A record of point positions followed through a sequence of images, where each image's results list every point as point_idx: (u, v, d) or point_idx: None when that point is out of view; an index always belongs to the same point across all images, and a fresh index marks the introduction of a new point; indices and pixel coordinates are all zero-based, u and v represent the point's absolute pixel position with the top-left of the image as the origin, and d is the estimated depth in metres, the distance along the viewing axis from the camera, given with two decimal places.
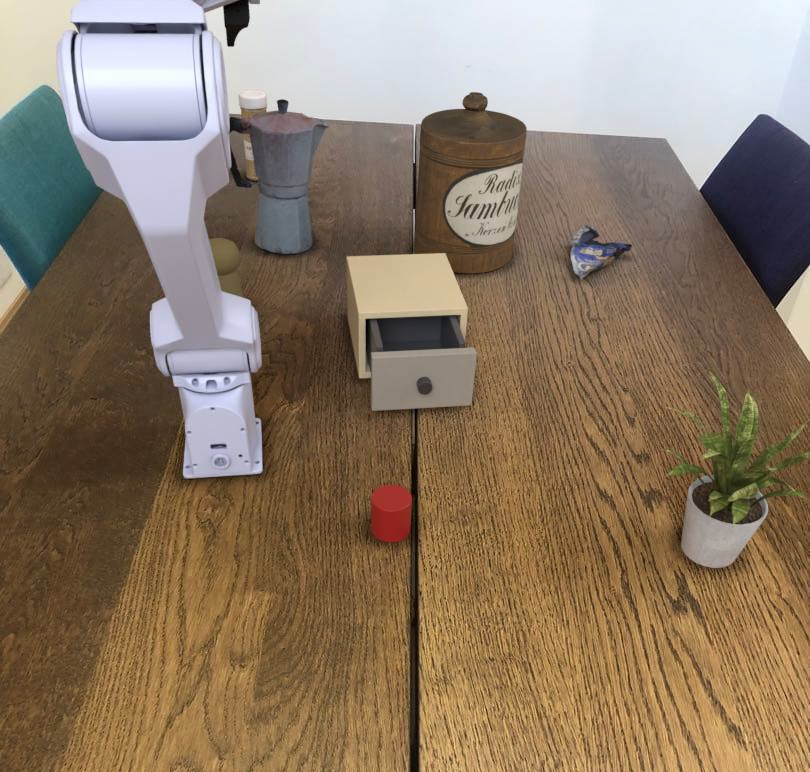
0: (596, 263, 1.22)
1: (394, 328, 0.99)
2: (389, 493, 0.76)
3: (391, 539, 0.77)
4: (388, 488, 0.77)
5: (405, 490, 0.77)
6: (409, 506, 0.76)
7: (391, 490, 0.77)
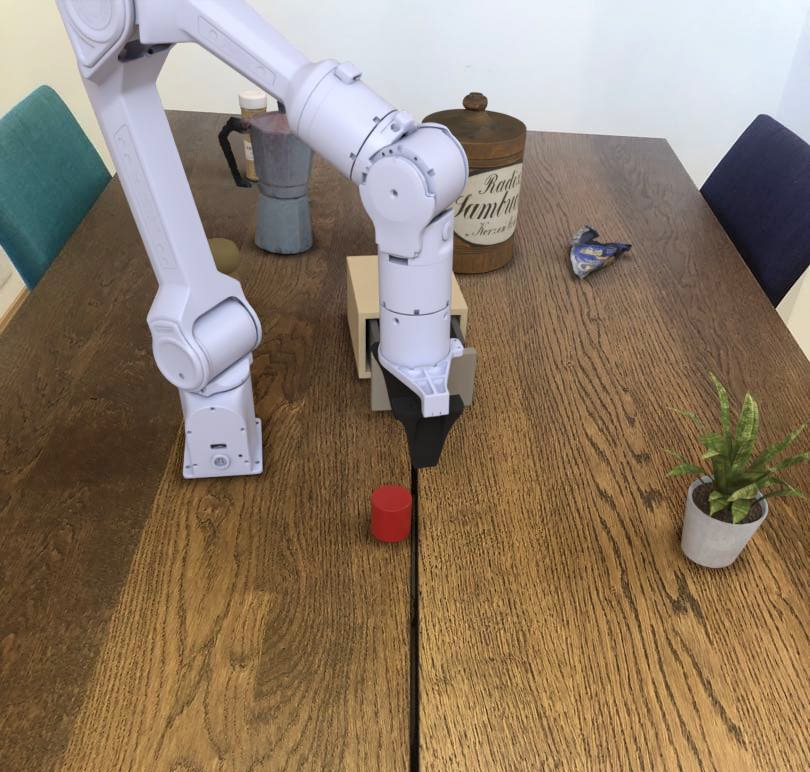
0: (596, 263, 1.22)
1: None
2: (389, 493, 0.76)
3: (391, 539, 0.77)
4: (388, 488, 0.77)
5: (405, 490, 0.77)
6: (409, 506, 0.76)
7: (391, 490, 0.77)
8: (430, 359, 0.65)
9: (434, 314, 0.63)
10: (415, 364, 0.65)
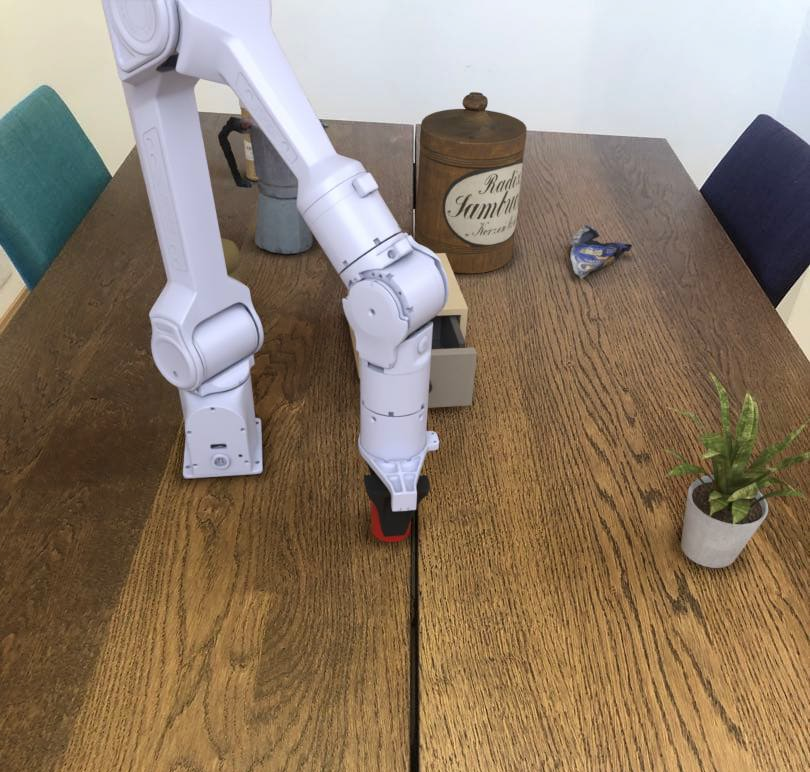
0: (596, 263, 1.22)
1: None
2: None
3: (391, 539, 0.77)
4: None
5: None
6: None
7: None
8: (404, 454, 0.69)
9: (409, 416, 0.67)
10: (390, 458, 0.69)
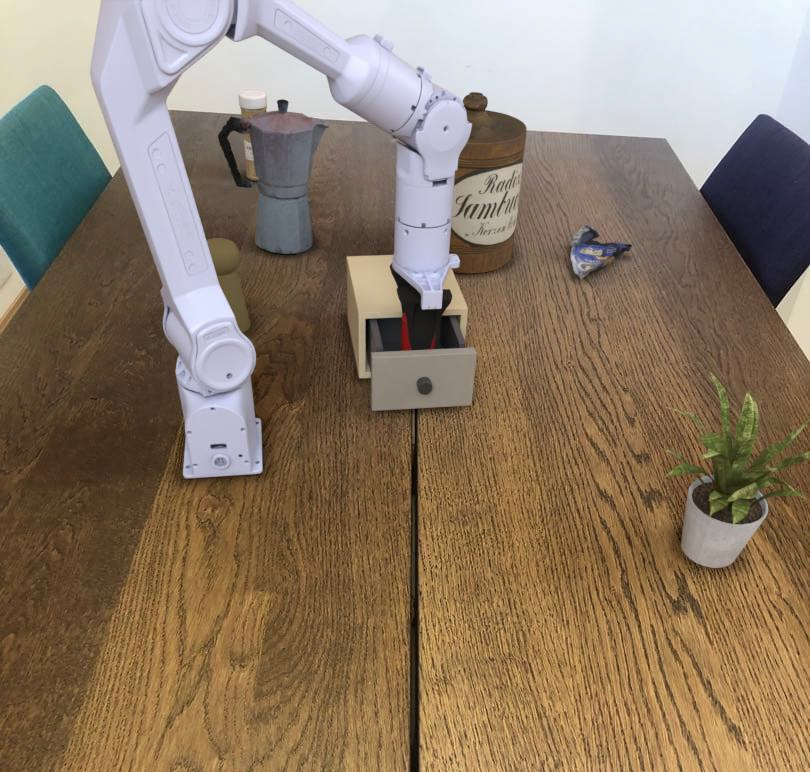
0: (596, 263, 1.22)
1: (394, 328, 0.99)
2: None
3: None
4: None
5: None
6: None
7: None
8: (431, 266, 0.83)
9: (436, 228, 0.80)
10: (419, 269, 0.83)
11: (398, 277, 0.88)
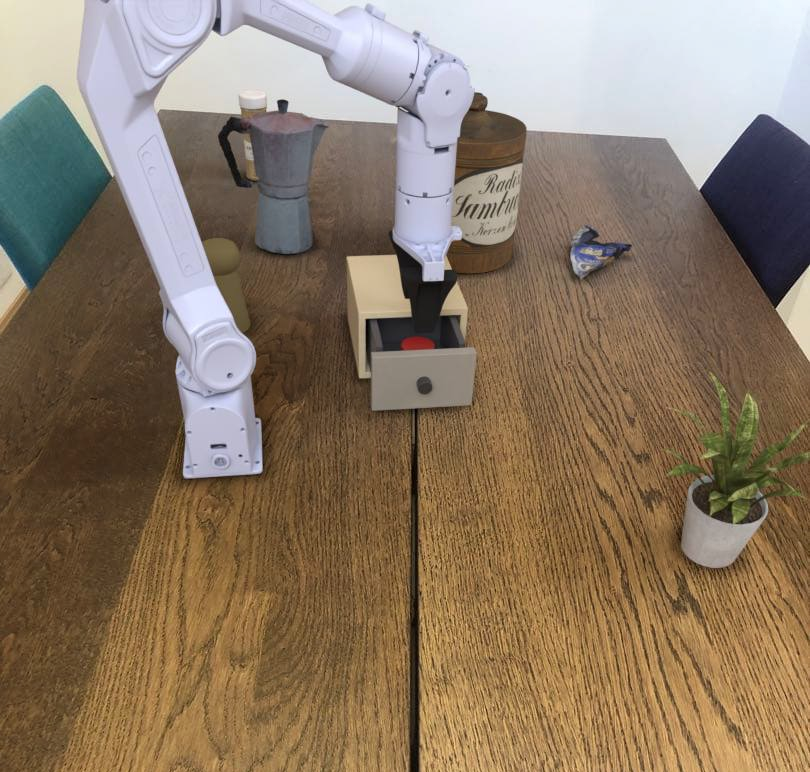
0: (596, 263, 1.22)
1: (394, 328, 0.99)
2: (416, 342, 0.93)
3: None
4: (415, 339, 0.93)
5: (429, 340, 0.93)
6: None
7: (418, 340, 0.93)
8: (433, 237, 0.81)
9: (438, 198, 0.78)
10: (420, 240, 0.81)
11: (397, 244, 0.87)
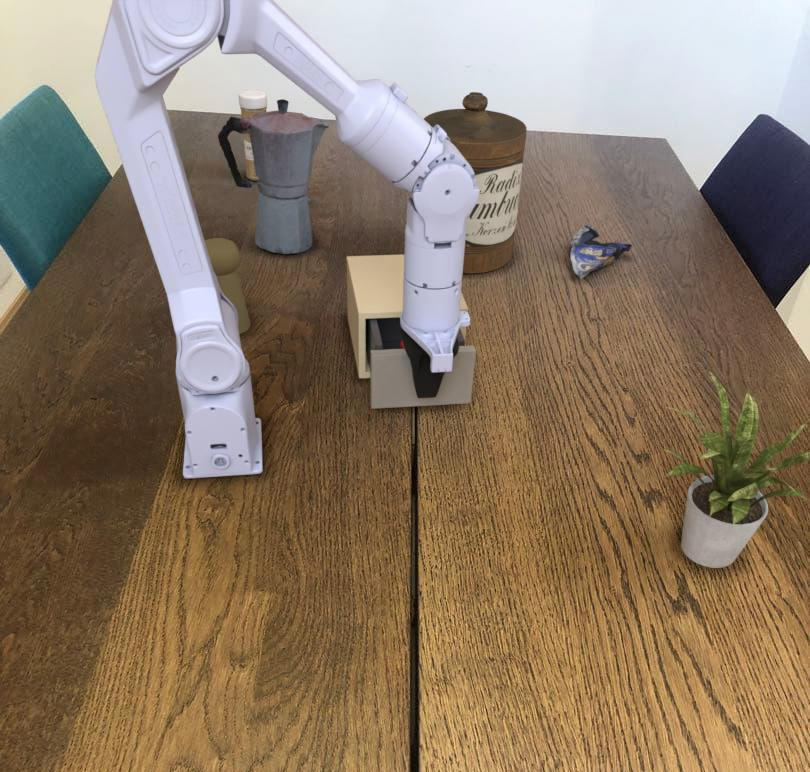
0: (596, 263, 1.22)
1: (394, 326, 0.99)
2: None
3: None
4: None
5: None
6: None
7: None
8: (441, 326, 0.80)
9: (446, 289, 0.78)
10: (429, 329, 0.80)
11: None
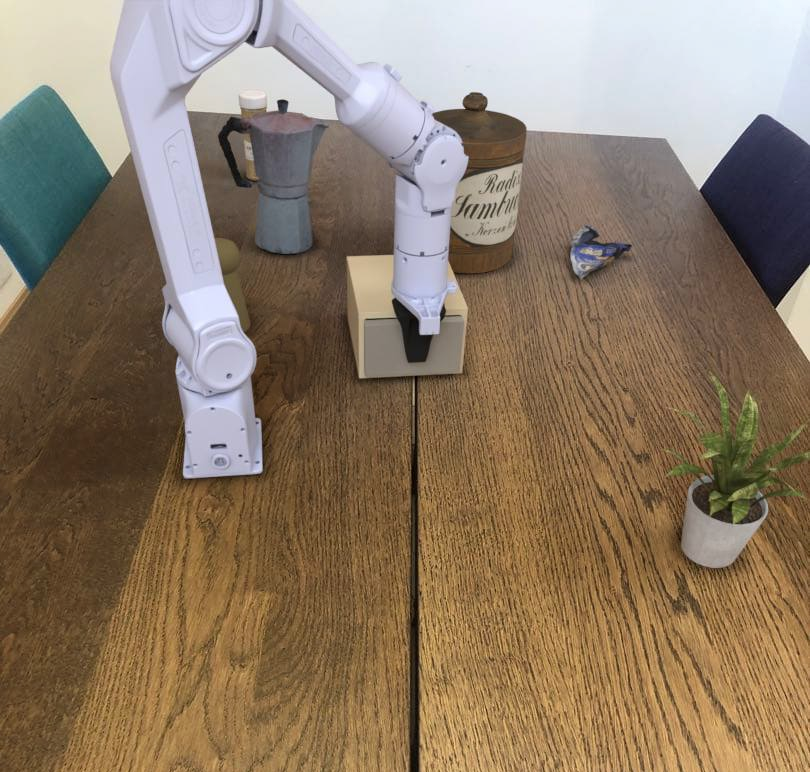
0: (596, 263, 1.22)
1: None
2: None
3: None
4: None
5: None
6: None
7: None
8: (429, 292, 0.85)
9: (434, 256, 0.83)
10: (417, 295, 0.85)
11: None
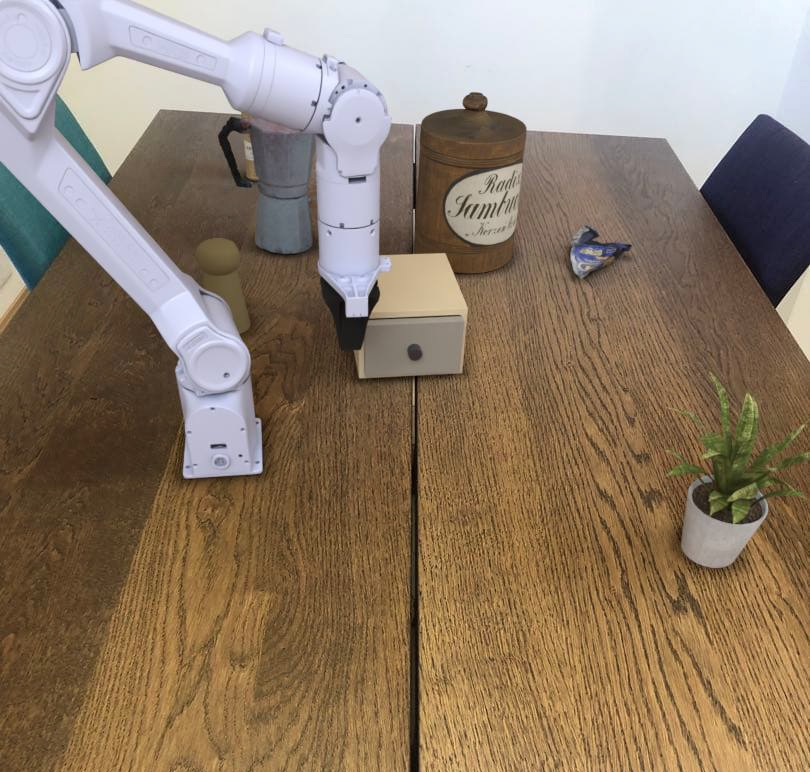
0: (596, 263, 1.22)
1: None
2: None
3: None
4: None
5: None
6: None
7: None
8: (358, 270, 0.76)
9: (361, 229, 0.74)
10: (345, 273, 0.76)
11: None
